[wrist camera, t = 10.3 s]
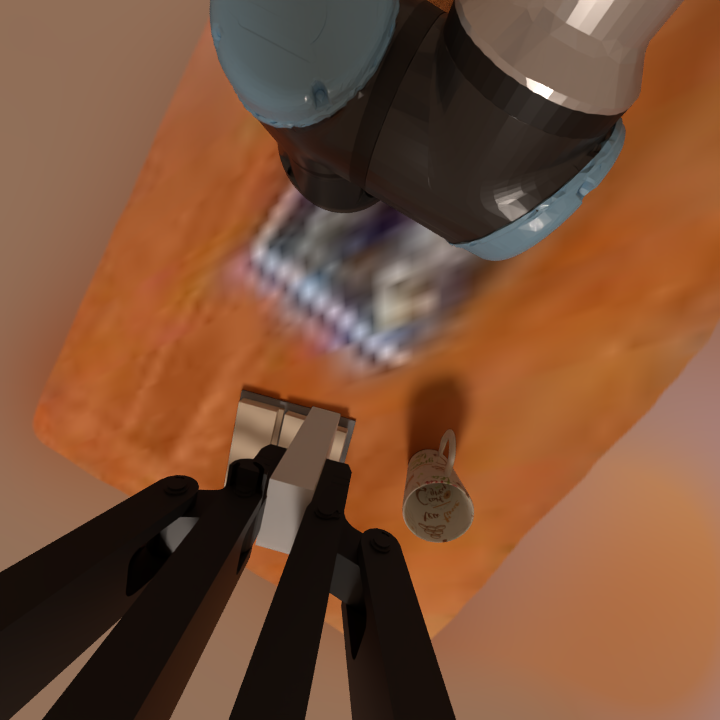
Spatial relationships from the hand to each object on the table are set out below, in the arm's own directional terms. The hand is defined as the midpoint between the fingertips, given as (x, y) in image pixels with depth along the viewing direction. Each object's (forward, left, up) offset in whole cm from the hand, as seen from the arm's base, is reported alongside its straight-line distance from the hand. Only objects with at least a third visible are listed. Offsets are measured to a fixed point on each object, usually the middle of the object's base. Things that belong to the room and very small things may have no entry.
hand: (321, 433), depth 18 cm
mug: (+14, +14, -30) cm, 36 cm away
